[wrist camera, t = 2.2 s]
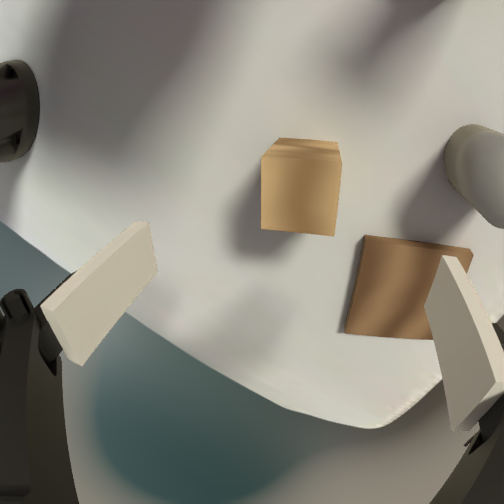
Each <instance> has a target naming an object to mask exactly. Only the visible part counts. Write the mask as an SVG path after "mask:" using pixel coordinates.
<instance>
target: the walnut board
mask: <svg viewBox="0 0 504 504" xmlns="http://www.w3.org/2000/svg"><path fill="white" fill-rule="evenodd" d="M442 255H446V256H453V257H457V258H458V260H459V262H460V264H461V265H462V267H463V269H464V270H465V272H466V274H467V271H468V269H469V266H470V263H471V261H472V258H473V253H472V252H471V250H470V249H467V248H460V247H453V246H446V245H439V244H432V243H424V242H417V241H409V240H402V239H394V238H386V237H378V236H369V235H365V236H364V242H363V247H362V252H361V257H360V262H359V267H358V272H357V277H356V281H355V286H354V290H353V295H352V299H351V303H350V307H349V311H348V315H347V319H346V323H345V333H346V334H356V335H367V336H380V337H393V338H409V339H428V340H433V336H432V332H431V328H430V325H429V321H428V318H427V314H426V311H425V308H424V305H425V302H426V300H427V297H428V294H429V292H430V289H431V286H432V284H433V281H434V278H435V275H436V272H437V269H438V266H439V263H440V260H441V257H442Z"/></svg>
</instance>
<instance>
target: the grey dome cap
mask: <svg viewBox="0 0 504 504" xmlns="http://www.w3.org/2000/svg"><path fill="white" fill-rule="evenodd" d="M444 169H445V173H446V176H447V178H448V180H449V182H450V184H451V185H452V186H453V187H454V189H455V190H457V191H458V192H459V193H460V194H461V195H462V196H463V197H464V198H465V199H466V200H467V201H468V202H469V203H470V204H471V205H472V206H473V207H474V208H475V209H476V210H477V211H478V212H479V213H480V214H481V215H482V216H483V217H484V218H485V219H486V220H487V221H488V222H489V223H490V224H492V225H493V226H495V227H498V228H502V229H504V134H502V133H500V132H497V131H494V130H491V129H489V128H486V127H483V126H480V125H474V124H471V125H466V126H463V127H461V128H459V129H458V130H457V131H455V132H454V133H453V135H452V136H451V137H450V139H449V140H448V143H447V145H446V148H445V152H444Z"/></svg>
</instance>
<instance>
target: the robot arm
mask: <svg viewBox="0 0 504 504" xmlns="http://www.w3.org/2000/svg"><path fill="white" fill-rule="evenodd" d="M38 119H39V95H38V88H37V83H36V80H35V77H34V74H33V72H32V70H31V69H30V67H29V66H28V65H27V64H26V63H25V62H23V61H21V60H12V61H6V62H3V63H0V163H2V162H9V161H12V160H14V159H17V158H19V157H21V156H23V155H24V154H25V153H26V152H27V151H28V150H29V148H30V147H31V145H32V143H33V140H34V137H35V134H36V130H37V125H38ZM157 272H158V269H157V264H156V259H155V254H154V248H153V243H152V237H151V231H150V226H149V223H148V222H137V221H136V222H135V223H133V224H132V225H131V226H130V227H128V228H127V229H126V230H125V231H123V232H122V233H121V234H120V235H118V236H117V237H116V238H115V239H114V240H112V241H111V242H110V243H109V244H108V245H106V246H105V247H104V248H103V249H102V250H101V251H99V252H98V253H97V254H96V255H95V256H94V257H92V258H91V259H90V260H89V261H88V262H87V263H86V264H84V265H83V266H82V267H81V268H80V269H79V270H77V271H76V272H74V273H72V274H70V275H69V276H68V277H67V278H66V279H65V280H64V281H62V283H60V284H59V285H58V286H57V287H56V289H54V290H53V291H52V292H51V293H50V294H49V295H48V296H46V298H45V299H43V300H42V301H41V303H39V304H38V305H37V306H36V307H35V308H34V307H33V305H32V303H31V301H30V299H29V297H28V295H27V293H26V291H25V290H23V289H15V290H13V291H10V292H9V293H8V294H6V295H5V296H4V297H3V298H2V299H1V301H0V307H1V309H2V310H3V312H4V314H5V316H3V314H2V312H1V310H0V504H79V502H78V497H77V493H76V489H75V485H74V479H73V474H72V469H71V463H70V458H69V452H68V445H67V437H66V428H65V418H64V407H63V391H62V362H61V357H60V356H59V354H60V352H61V351H62V350H63V351H64V353H65V354H66V356H67V358H68V359H69V360H70V361H72V362H74V363H76V364H78V365H81V366H83V364H84V363H85V362H86V360H87V359H88V358H89V356H90V355H91V354H92V352H93V351H94V350H95V349H96V347H97V346H98V345H99V343H100V342H101V341H102V340H103V338H104V337H105V336H106V335H107V333H108V332H109V331H110V329H111V328H112V327H113V326H114V324H115V323H116V322H117V321H118V319H119V318H120V317H121V316H122V314H123V313H124V312H125V311H126V310H127V308H128V307H129V306H130V305H131V303H132V302H133V301H134V300H135V299H136V297H137V296H138V295H139V294H140V293H141V291H142V290H143V289H144V288H145V287H146V285H147V284H148V283H149V282H150V281H151V279H152V278H153V277H154V276H155V275H156V274H157ZM424 308H425V311H426V314H427V318H428V321H429V325H430V328H431V332H432V336H433V340H434V344H435V348H436V352H437V356H438V360H439V364H440V369H441V373H442V378H443V383H444V388H445V394H446V399H447V405H448V410H449V418H450V424H451V432H460V431H469V430H470V429H471V428H472V427H473V426H474V425H475V424H476V423H477V422H478V421H479V426H480V430H479V431H478V432H477V433H476V434H475V435H474V436H473V437H471V438H470V439H469V440H468V441H467V442H466V443H465V445H464V446H467V445H468V444H469V443H470V445H469V446H468V448H467V450H466V452H465V453H464V455H463V456H462V458H461V460H460V461H459V463H458V465H457V466H456V467H455V469H454V471H453V472H452V474H451V475H450V476H449V478H448V479H447V481H446V482H445V484H444V485H443V486H442V488H441V489H440V491H439V492H438V493H437V495H436V496H435V497H434V498H433V500H432V501H431V502H430V504H504V332H503V330H502V329H501V328H500V327H499V326H498V325H497V324H496V323H491V321H490V319H489V317H488V315H487V312H486V310H485V308H484V306H483V304H482V302H481V300H480V298H479V296H478V294H477V292H476V291H475V289H474V287H473V285H472V283H471V281H470V279H469V278H468V276H467V274H466V272H465V270H464V269H463V267H462V265H461V264H460V262H459V260H458V258H457V257H453V256H446V255H442V257H441V260H440V263H439V266H438V269H437V272H436V275H435V278H434V281H433V284H432V286H431V289H430V292H429V294H428V297H427V300H426V302H425V305H424Z"/></svg>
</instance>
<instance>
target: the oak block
mask: <svg viewBox="0 0 504 504" xmlns="http://www.w3.org/2000/svg"><path fill="white" fill-rule="evenodd" d="M341 169H342V161H341V157H340V152H339V148H338V143H337V142H329V141H319V140H306V139H292V138H279V139H278V140H277V141H276V142H275V143H274V144H273V145H272V146H271V147H270V148H269V149H268V150H267V151H266V152H265V153H264V155H263V156H262V157H261V229H269V230H279V231H288V232H298V233H308V234H317V235H326V236H334V234H335V226H336V218H337V209H338V200H339V191H340V180H341Z"/></svg>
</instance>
